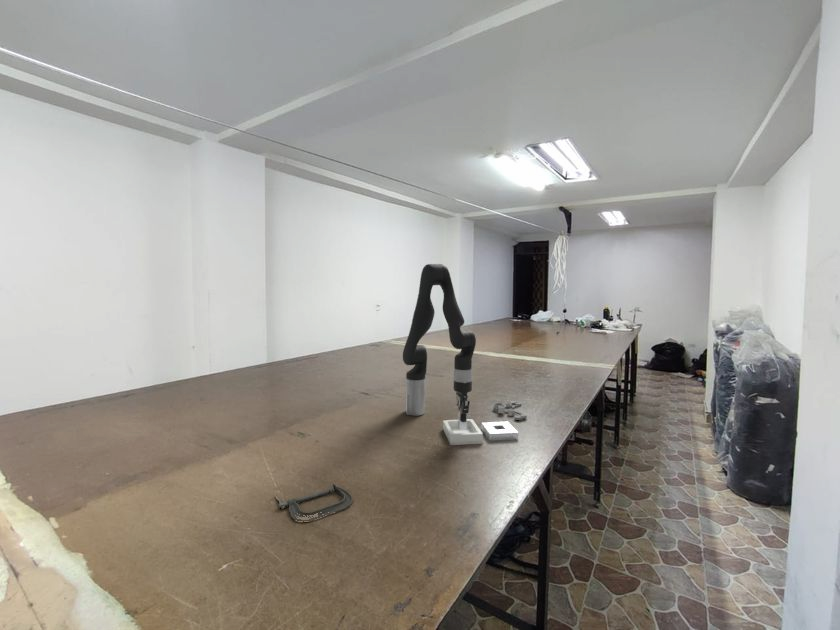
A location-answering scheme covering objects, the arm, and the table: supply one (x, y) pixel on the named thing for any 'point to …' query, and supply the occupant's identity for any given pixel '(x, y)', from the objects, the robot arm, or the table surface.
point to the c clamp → (295, 509)
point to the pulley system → (501, 409)
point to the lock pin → (461, 424)
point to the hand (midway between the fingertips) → (462, 419)
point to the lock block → (499, 431)
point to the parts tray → (462, 433)
